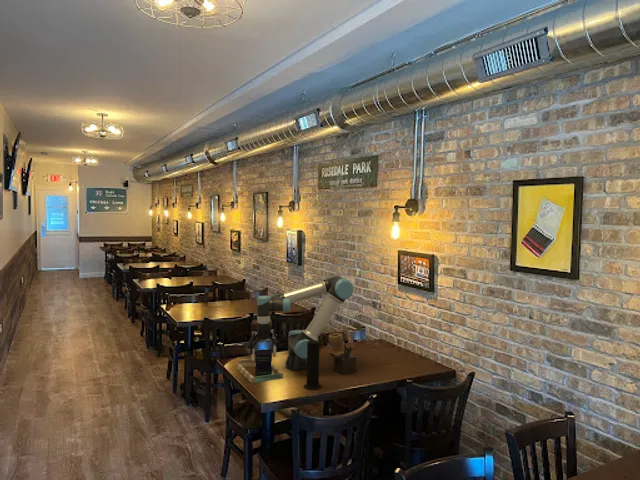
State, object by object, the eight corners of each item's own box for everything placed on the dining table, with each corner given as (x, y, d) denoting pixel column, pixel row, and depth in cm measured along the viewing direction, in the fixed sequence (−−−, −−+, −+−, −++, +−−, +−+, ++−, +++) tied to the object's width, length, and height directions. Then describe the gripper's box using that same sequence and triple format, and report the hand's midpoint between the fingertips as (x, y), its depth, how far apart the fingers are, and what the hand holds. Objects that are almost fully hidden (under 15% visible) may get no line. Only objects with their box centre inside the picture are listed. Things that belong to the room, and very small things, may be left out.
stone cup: (325, 353, 327) (325, 332, 326) (339, 351, 333) (340, 330, 332) (336, 359, 314) (337, 337, 313) (351, 357, 320) (352, 335, 319)
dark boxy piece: (331, 370, 292) (332, 341, 291) (345, 367, 298) (346, 339, 297) (347, 377, 279) (348, 347, 278) (362, 374, 286) (362, 345, 285)
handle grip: (320, 383, 269) (303, 383, 268) (321, 337, 268) (303, 337, 267) (322, 390, 259) (304, 390, 258) (323, 342, 258) (304, 342, 257)
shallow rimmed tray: (236, 368, 293) (236, 360, 293) (265, 364, 302) (265, 356, 302) (252, 383, 268) (252, 374, 267) (283, 378, 276) (283, 370, 276)
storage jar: (269, 373, 285) (269, 348, 284) (273, 378, 276) (274, 353, 275) (253, 374, 282) (253, 350, 281) (257, 380, 272) (257, 354, 272)
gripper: (280, 319, 286) (281, 353, 287) (241, 323, 275) (241, 359, 276) (285, 321, 279) (285, 356, 281) (245, 326, 268) (245, 363, 269)
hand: (263, 358), depth 278 cm, fingers open, 13 cm apart
